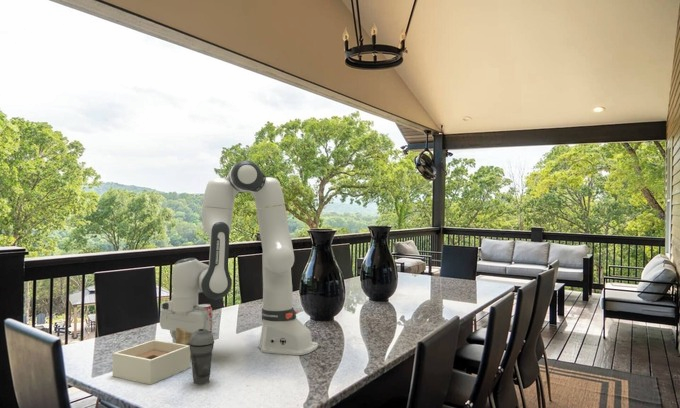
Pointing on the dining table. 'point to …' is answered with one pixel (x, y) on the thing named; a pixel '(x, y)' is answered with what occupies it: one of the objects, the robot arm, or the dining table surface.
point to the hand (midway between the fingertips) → (184, 344)
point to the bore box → (151, 361)
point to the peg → (183, 337)
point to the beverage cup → (201, 354)
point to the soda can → (209, 313)
